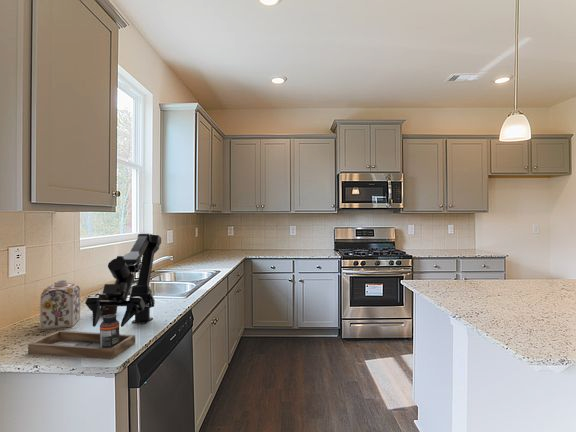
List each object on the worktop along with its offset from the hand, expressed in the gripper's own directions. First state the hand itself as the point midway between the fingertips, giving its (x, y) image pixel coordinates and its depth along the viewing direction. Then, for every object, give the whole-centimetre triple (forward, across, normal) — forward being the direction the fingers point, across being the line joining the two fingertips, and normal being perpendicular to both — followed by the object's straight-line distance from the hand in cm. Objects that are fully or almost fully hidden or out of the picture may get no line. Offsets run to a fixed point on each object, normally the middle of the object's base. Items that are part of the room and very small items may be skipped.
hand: (107, 326), depth 113 cm
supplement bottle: (+5, 0, +7) cm, 8 cm away
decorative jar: (-14, -32, +26) cm, 44 cm away
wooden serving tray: (+4, -10, +8) cm, 13 cm away
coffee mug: (-25, -20, +37) cm, 49 cm away
